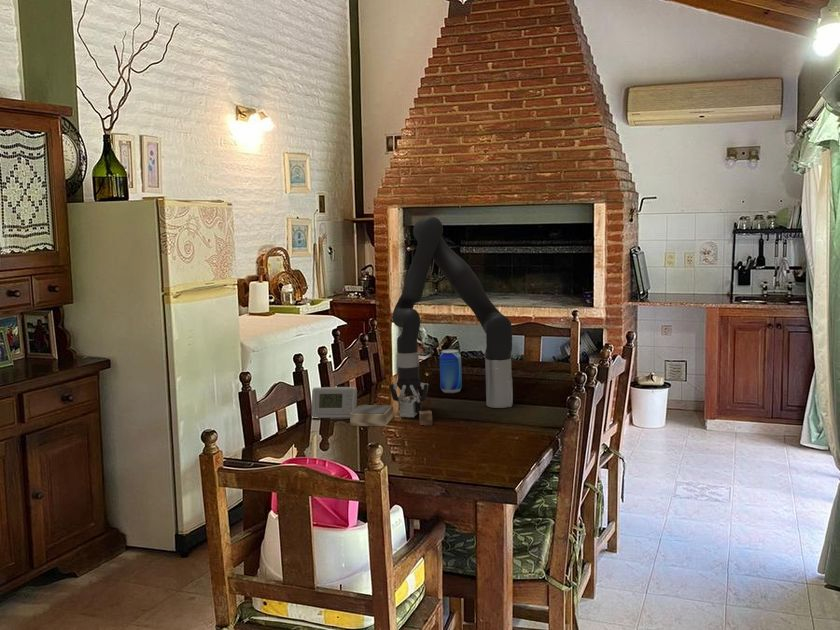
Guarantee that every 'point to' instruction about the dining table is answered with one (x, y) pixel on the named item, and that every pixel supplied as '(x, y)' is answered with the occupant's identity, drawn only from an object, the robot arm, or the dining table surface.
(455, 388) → the beer can
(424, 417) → the walnut block
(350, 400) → the digital clock
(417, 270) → the robot arm
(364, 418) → the stand
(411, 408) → the housing
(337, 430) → the dining table surface
